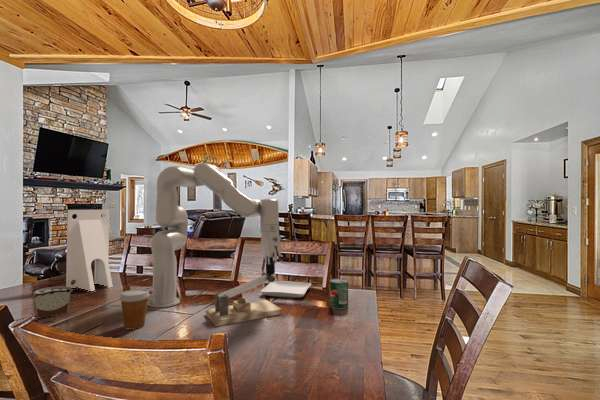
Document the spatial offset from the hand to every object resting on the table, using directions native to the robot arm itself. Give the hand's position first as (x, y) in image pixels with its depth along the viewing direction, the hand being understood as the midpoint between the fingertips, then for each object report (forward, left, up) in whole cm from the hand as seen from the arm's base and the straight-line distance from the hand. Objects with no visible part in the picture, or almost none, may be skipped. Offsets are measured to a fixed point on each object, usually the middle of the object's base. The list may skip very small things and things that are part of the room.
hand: (270, 273), depth 133 cm
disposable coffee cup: (-49, +7, -15) cm, 52 cm away
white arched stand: (-63, +76, -15) cm, 100 cm away
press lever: (-10, 0, -5) cm, 11 cm away
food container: (-76, +37, -15) cm, 86 cm away
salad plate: (+19, +20, -16) cm, 32 cm away
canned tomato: (+28, -10, -15) cm, 33 cm away
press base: (-11, 0, -15) cm, 19 cm away
